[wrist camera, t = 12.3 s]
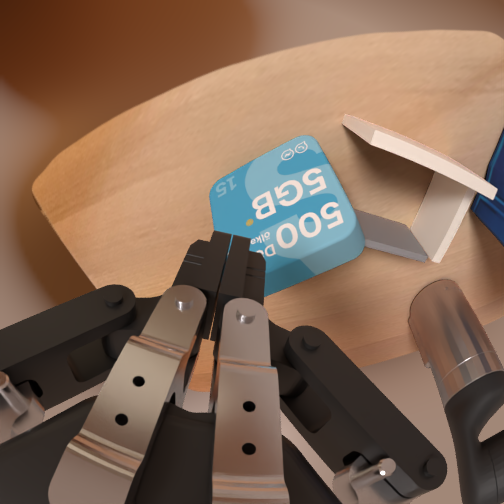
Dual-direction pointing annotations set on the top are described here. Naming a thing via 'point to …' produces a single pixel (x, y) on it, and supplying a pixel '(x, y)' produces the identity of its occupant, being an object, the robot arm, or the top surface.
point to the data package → (289, 213)
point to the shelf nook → (433, 205)
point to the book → (500, 208)
